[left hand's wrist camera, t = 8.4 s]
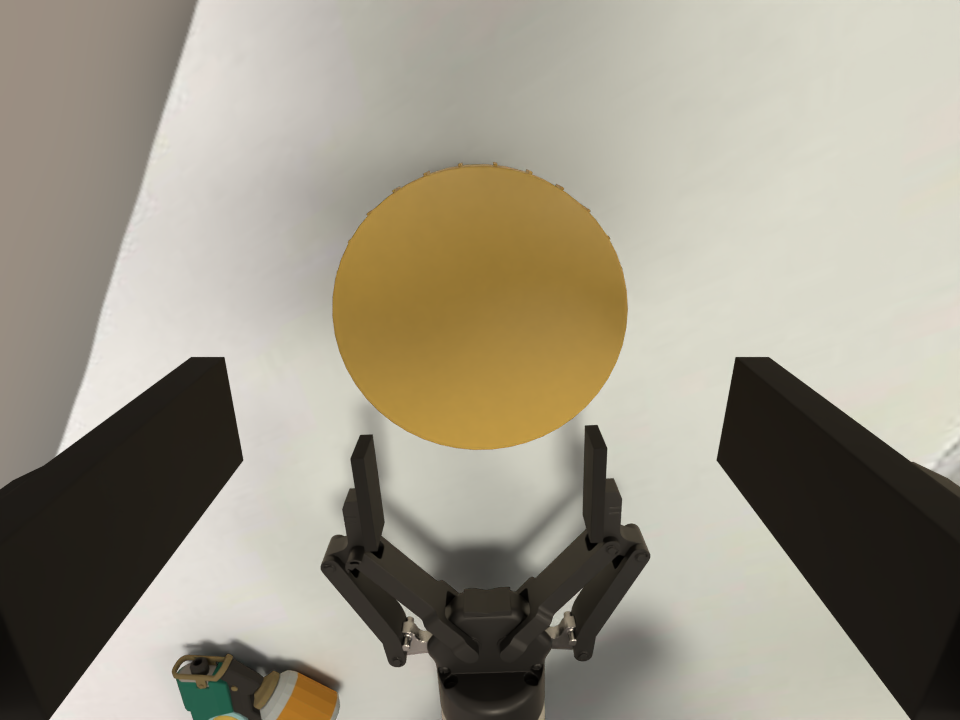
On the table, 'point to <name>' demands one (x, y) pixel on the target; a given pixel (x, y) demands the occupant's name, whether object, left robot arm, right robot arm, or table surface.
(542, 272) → the lid
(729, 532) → the table surface
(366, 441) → the right robot arm
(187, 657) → the spray gun
